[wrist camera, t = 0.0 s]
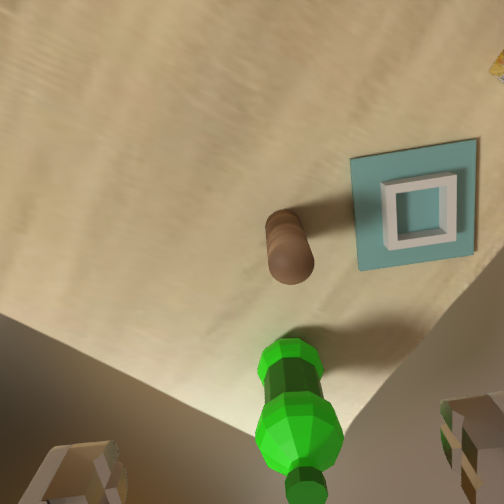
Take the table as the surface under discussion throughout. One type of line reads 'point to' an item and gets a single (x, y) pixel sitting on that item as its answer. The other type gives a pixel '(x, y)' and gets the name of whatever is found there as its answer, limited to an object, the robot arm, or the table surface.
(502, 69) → the candy box
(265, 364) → the plastic bottle
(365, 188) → the socket block
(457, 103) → the table surface
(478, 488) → the robot arm
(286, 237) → the walnut plug
